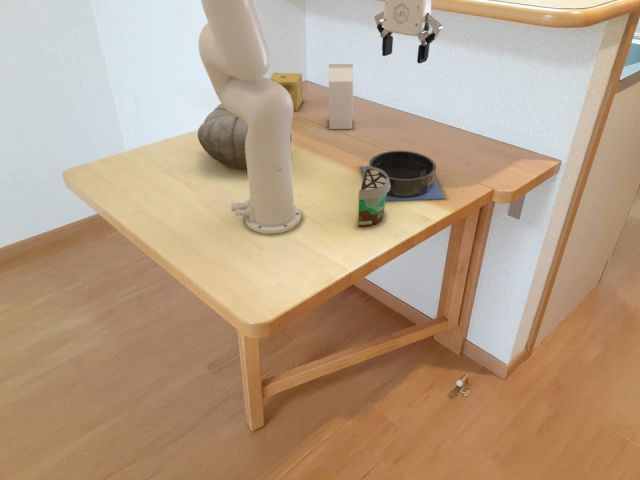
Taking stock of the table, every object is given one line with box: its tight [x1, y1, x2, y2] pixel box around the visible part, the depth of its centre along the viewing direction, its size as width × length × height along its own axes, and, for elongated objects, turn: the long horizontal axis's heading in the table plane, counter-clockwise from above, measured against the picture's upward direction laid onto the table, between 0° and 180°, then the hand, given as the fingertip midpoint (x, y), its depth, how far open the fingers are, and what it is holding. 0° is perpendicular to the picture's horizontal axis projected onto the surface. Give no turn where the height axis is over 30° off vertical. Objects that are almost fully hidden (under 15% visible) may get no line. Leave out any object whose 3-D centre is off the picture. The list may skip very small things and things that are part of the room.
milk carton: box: [328, 63, 354, 130], centre depth 156 cm, size 7×7×19 cm
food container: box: [357, 165, 390, 228], centre depth 114 cm, size 12×6×10 cm, turn 168°
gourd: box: [197, 103, 292, 169], centre depth 138 cm, size 25×25×17 cm
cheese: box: [269, 72, 304, 112], centre depth 174 cm, size 10×11×10 cm
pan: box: [368, 150, 437, 198], centre depth 129 cm, size 16×16×5 cm
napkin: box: [360, 166, 446, 202], centre depth 130 cm, size 18×18×1 cm
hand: (404, 58), depth 120 cm, fingers open, 9 cm apart
